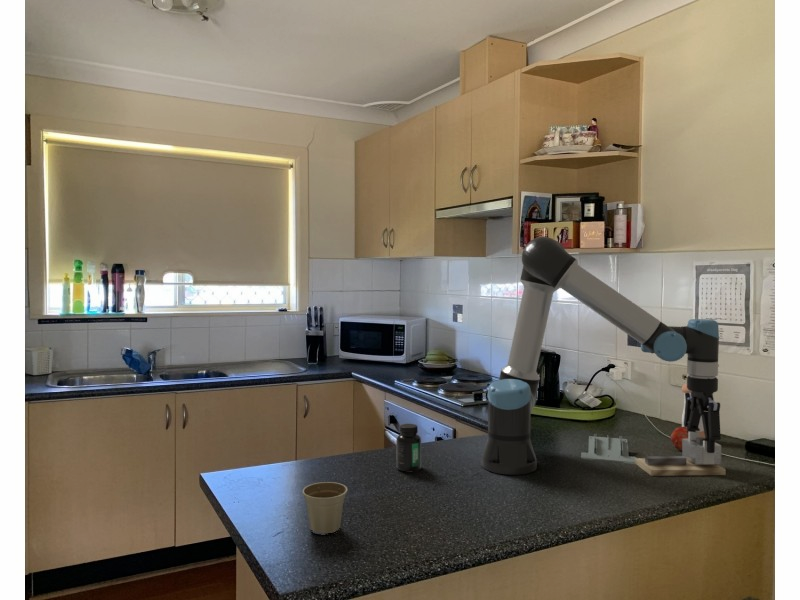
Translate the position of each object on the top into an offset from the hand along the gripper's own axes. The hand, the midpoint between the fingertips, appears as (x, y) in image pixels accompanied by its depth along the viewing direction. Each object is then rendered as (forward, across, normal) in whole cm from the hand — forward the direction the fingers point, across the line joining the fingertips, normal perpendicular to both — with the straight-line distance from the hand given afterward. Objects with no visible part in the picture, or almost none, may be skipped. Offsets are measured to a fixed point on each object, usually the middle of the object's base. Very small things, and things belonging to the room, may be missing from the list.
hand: (700, 459), depth 161 cm
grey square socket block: (0, 0, 0) cm, 0 cm away
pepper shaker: (+3, +27, -12) cm, 30 cm away
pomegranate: (+3, +17, -4) cm, 18 cm away
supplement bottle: (+3, +3, +80) cm, 80 cm away
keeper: (+3, 0, +6) cm, 7 cm away
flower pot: (+3, -35, +99) cm, 105 cm away
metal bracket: (+3, +14, +20) cm, 25 cm away
